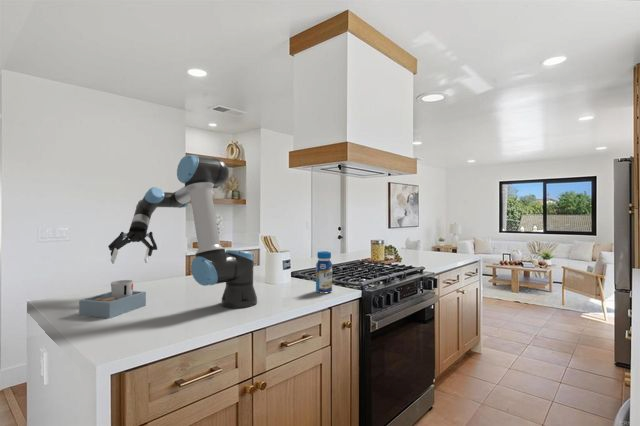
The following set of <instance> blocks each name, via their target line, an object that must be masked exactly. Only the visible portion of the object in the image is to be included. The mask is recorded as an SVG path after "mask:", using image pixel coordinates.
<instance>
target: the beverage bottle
mask: <svg viewBox="0 0 640 426" xmlns="http://www.w3.org/2000/svg"><path fill="white" fill-rule="evenodd" d="M316 257H317V259H318V260H317V262H316V264H315V267H316V269H315V292H316V293H317V292H321V293H320V294H323V293H325V292H331V291H332V292H333V271H334V270H333V263H332V261H331V258H332V252H331V251H324V250H323V251H321V250H320V251H317V256H316ZM332 292H331V293H332Z"/></svg>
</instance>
